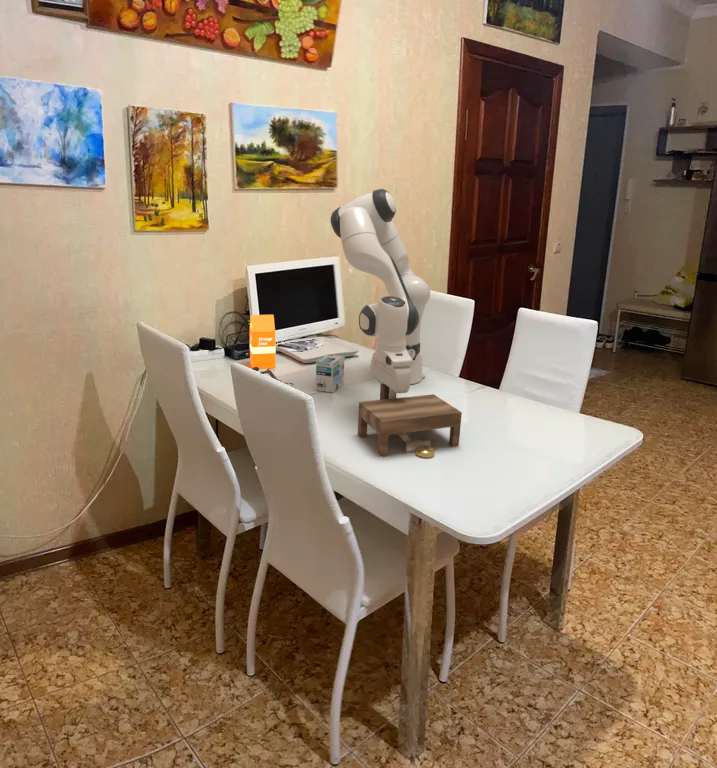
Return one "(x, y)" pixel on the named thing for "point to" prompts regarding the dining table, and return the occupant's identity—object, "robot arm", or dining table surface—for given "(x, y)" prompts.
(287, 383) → the hacksaw
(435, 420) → the wooden footstool
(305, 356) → the square plate
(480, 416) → the dining table surface
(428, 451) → the token
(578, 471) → the dining table surface
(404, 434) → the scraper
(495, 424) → the dining table surface
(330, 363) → the light bulb box
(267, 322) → the orange juice
